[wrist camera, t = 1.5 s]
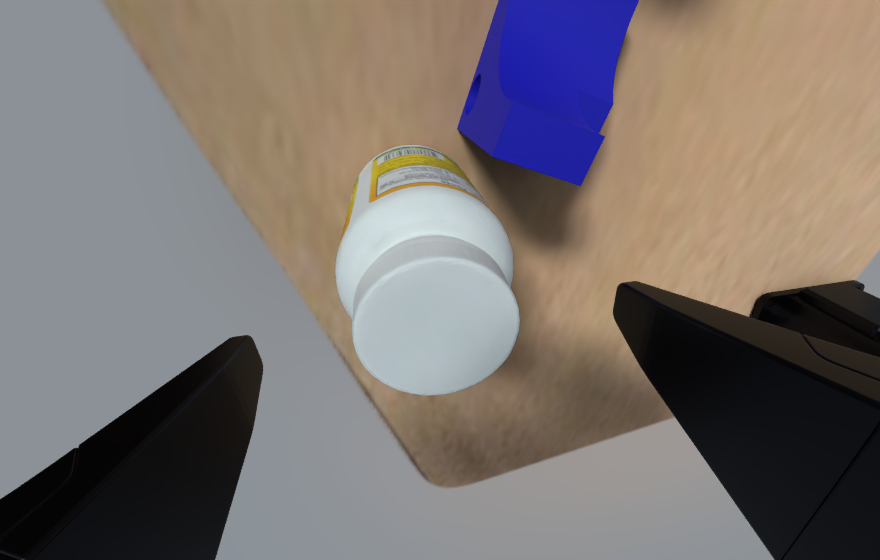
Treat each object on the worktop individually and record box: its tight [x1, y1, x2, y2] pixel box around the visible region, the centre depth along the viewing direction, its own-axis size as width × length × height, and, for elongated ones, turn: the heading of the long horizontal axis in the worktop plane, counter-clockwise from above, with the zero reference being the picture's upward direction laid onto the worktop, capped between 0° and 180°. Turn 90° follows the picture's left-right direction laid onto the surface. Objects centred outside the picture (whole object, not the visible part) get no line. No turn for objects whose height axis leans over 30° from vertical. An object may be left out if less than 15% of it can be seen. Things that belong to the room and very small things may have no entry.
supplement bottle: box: [336, 145, 520, 396], centre depth 13 cm, size 5×5×10 cm
